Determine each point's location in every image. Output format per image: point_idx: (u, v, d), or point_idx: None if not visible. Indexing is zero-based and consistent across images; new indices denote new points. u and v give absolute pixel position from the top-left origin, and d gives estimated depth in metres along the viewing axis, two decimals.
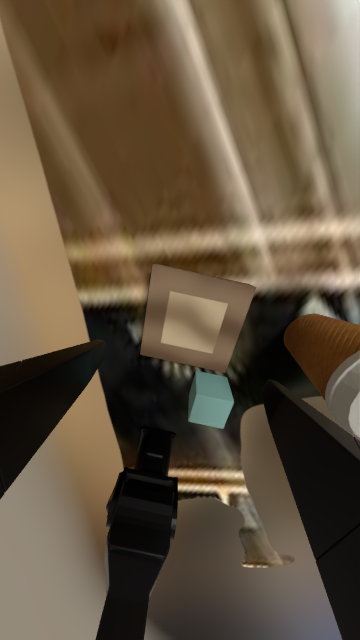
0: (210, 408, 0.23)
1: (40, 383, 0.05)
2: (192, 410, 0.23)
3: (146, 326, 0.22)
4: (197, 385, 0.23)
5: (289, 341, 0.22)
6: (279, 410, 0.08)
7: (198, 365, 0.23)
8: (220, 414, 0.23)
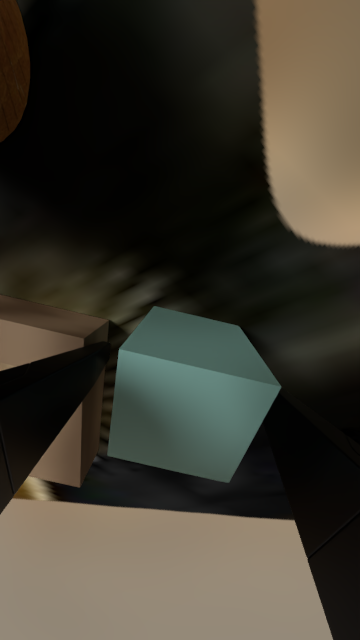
0: (165, 424, 0.06)
1: (48, 385, 0.05)
2: (178, 468, 0.07)
3: None
4: None
5: None
6: (273, 409, 0.08)
7: None
8: (192, 394, 0.05)
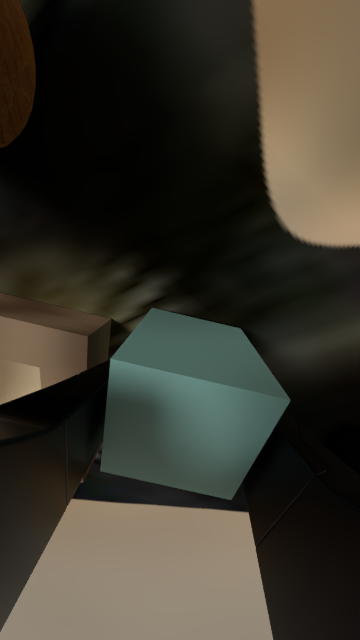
0: (162, 439, 0.05)
1: (98, 396, 0.05)
2: (177, 484, 0.06)
3: None
4: None
5: None
6: None
7: None
8: (192, 407, 0.05)
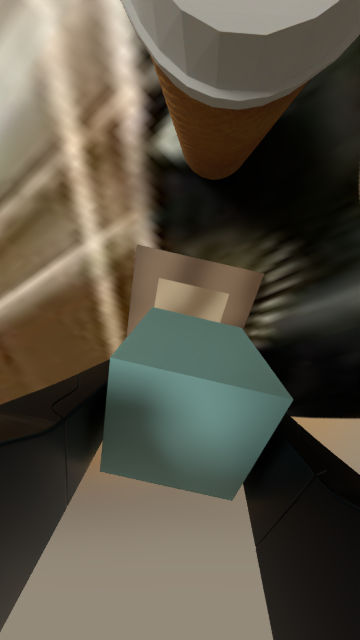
0: (163, 439, 0.05)
1: (98, 396, 0.05)
2: (178, 485, 0.06)
3: None
4: None
5: (218, 172, 0.14)
6: None
7: (247, 311, 0.17)
8: (192, 407, 0.05)
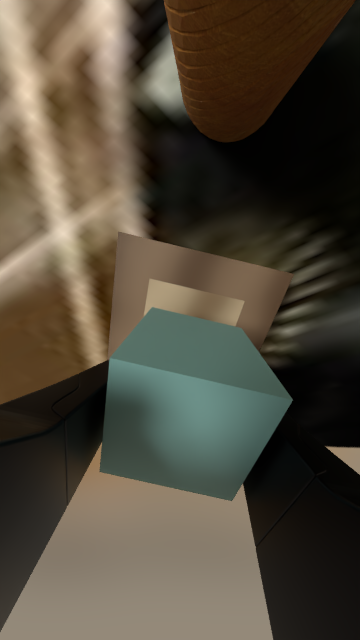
0: (162, 439, 0.05)
1: (98, 396, 0.05)
2: (177, 485, 0.06)
3: None
4: None
5: (236, 126, 0.09)
6: None
7: (267, 325, 0.13)
8: (192, 407, 0.05)
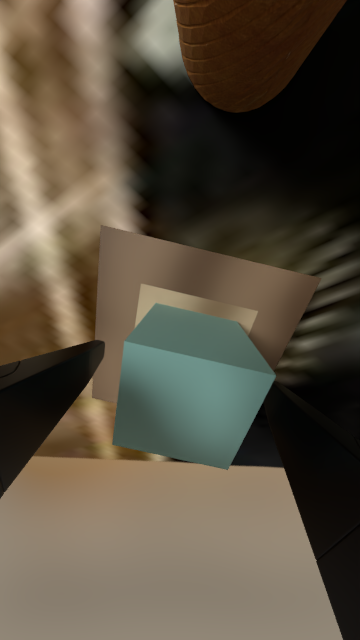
0: (167, 413, 0.06)
1: (39, 383, 0.05)
2: (180, 456, 0.07)
3: None
4: None
5: (251, 84, 0.07)
6: (279, 410, 0.08)
7: (285, 339, 0.10)
8: (192, 384, 0.06)
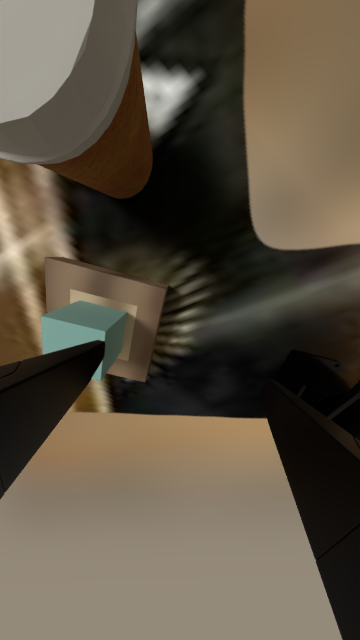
0: None
1: (40, 383, 0.05)
2: None
3: (110, 372, 0.21)
4: None
5: (115, 194, 0.15)
6: (279, 410, 0.08)
7: (155, 323, 0.18)
8: (73, 335, 0.13)
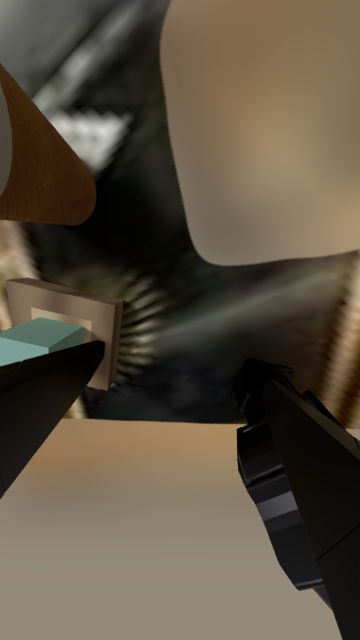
0: None
1: (40, 383, 0.05)
2: None
3: None
4: None
5: (62, 223, 0.17)
6: (279, 410, 0.08)
7: (110, 336, 0.20)
8: (21, 351, 0.15)
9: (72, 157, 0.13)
